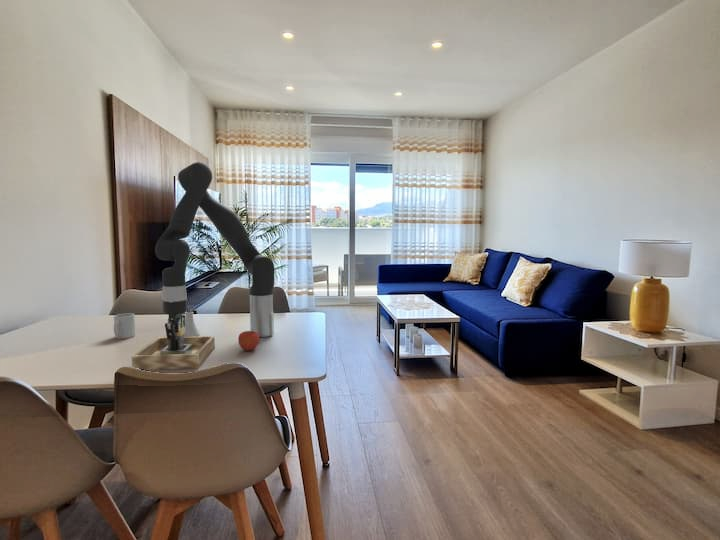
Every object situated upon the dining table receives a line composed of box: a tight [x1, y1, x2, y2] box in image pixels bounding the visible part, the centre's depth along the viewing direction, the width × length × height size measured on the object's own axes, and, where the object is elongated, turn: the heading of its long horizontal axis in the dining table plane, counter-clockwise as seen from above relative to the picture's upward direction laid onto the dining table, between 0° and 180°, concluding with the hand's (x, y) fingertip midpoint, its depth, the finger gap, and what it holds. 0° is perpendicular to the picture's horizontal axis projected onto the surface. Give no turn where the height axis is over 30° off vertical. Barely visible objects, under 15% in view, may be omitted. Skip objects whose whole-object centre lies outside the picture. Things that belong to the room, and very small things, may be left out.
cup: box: [113, 312, 136, 340], centre depth 166 cm, size 7×10×9 cm
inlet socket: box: [160, 344, 193, 355], centre depth 141 cm, size 8×8×3 cm
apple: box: [237, 329, 260, 352], centre depth 151 cm, size 7×7×8 cm
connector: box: [165, 327, 185, 350], centre depth 141 cm, size 5×5×8 cm
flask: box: [184, 311, 201, 337], centre depth 168 cm, size 7×7×10 cm
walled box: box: [131, 335, 216, 371], centre depth 141 cm, size 20×22×4 cm
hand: (176, 347), depth 141 cm, fingers closed on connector, 4 cm apart
